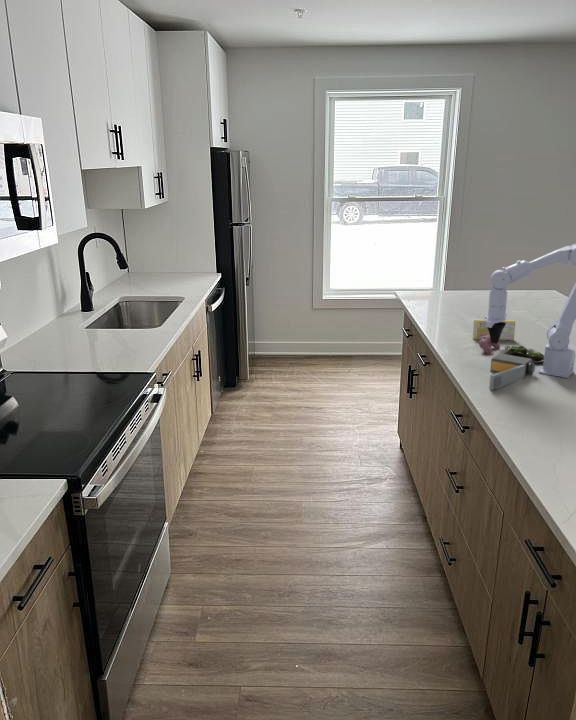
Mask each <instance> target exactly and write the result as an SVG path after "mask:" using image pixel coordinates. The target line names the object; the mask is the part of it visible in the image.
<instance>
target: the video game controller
mask: <svg viewBox="0 0 576 720" xmlns="http://www.w3.org/2000/svg"><path fill="white" fill-rule="evenodd" d="M478 340H479V341H478V346H479V347H480V349H481V350H482V351H484V352H485V353H486V354H488V355H492V354H493V351H494V350H493V349H492V347H493V348H494V349H496V350H500V348H501V344H500V343H499V342H498V343H497V344H495V343H491V340H490V336H488V335H486V336H483V337H482V338H481V339H478Z"/></svg>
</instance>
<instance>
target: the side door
mask: <svg viewBox="0 0 576 720" xmlns="http://www.w3.org/2000/svg"><path fill="white" fill-rule="evenodd" d="M525 372H526V365H525V364H523V365H520V366H517V367H514V368H511V369H508V370H504V371H501V372H498V373H492V374H490V376H489V387H488V388H489V390H491V391H494V390H496V389H499V388H502V387H506V386H509V385H511V384H514V383H517V382H520V381H522V380H525V379H526V377H525Z"/></svg>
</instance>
